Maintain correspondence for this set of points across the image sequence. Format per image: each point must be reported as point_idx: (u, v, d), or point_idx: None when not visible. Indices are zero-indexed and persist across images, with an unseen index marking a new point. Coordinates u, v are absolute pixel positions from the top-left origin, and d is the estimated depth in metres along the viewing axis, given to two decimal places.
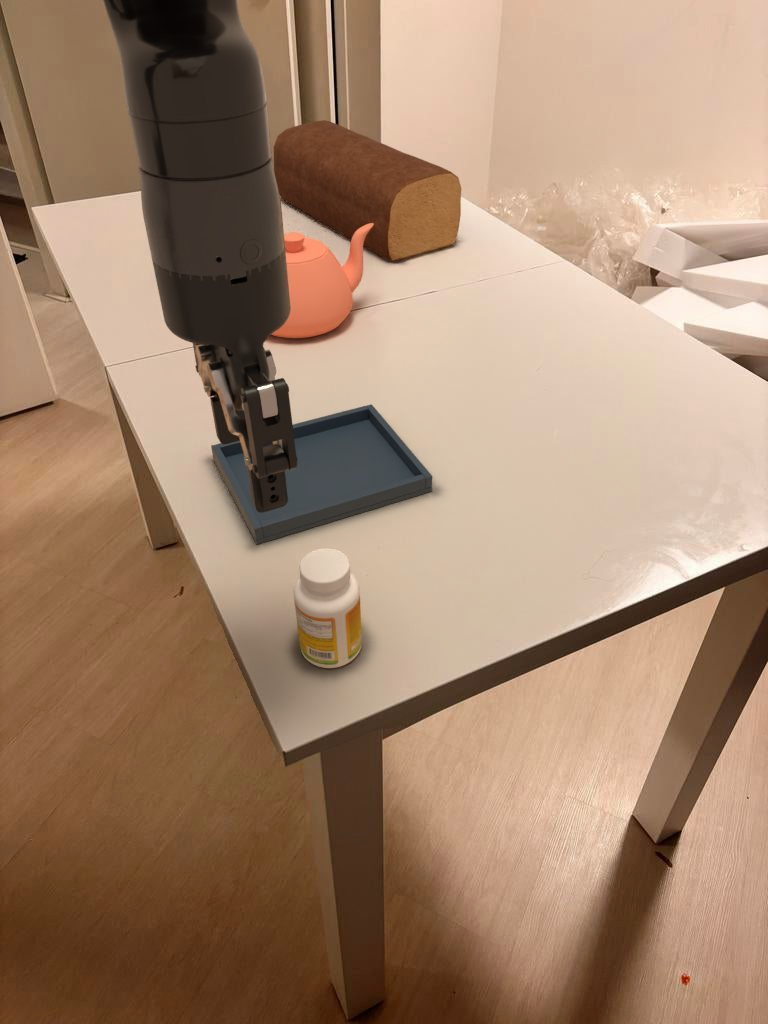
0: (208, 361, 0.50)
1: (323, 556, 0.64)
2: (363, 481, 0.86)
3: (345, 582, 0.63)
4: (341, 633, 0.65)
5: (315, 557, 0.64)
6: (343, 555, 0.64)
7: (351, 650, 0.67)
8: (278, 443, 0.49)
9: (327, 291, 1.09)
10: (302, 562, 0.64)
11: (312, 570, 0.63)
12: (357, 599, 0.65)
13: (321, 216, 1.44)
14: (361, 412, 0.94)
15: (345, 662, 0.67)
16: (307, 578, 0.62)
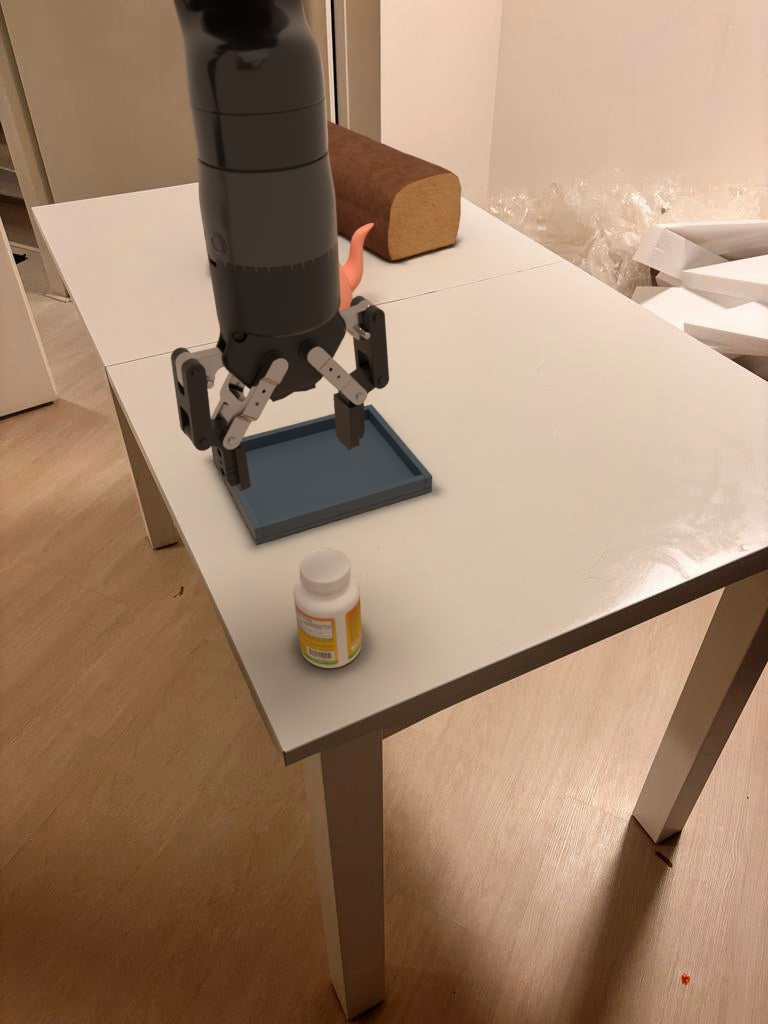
0: None
1: (323, 556, 0.64)
2: (363, 481, 0.86)
3: (345, 582, 0.63)
4: (341, 633, 0.65)
5: (315, 557, 0.64)
6: (343, 555, 0.64)
7: (351, 650, 0.67)
8: (225, 428, 0.50)
9: None
10: (302, 562, 0.64)
11: (312, 570, 0.63)
12: (357, 599, 0.65)
13: None
14: None
15: (345, 662, 0.67)
16: (307, 578, 0.62)
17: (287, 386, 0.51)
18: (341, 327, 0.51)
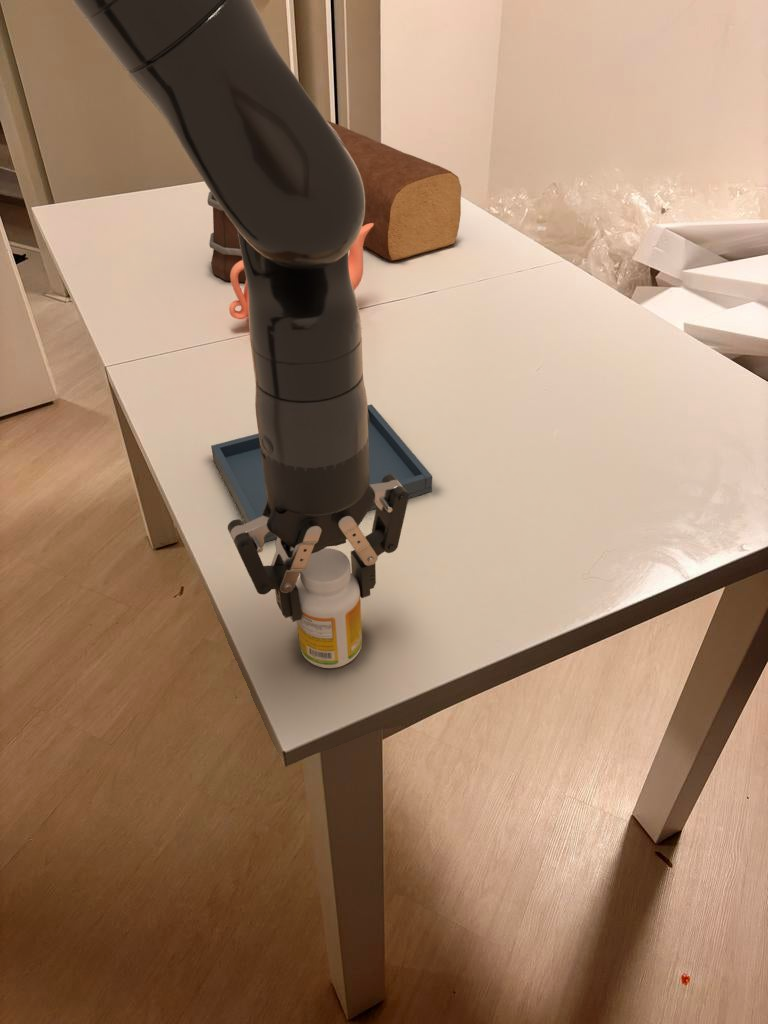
0: None
1: (323, 556, 0.64)
2: None
3: (345, 582, 0.63)
4: (341, 633, 0.65)
5: (315, 557, 0.64)
6: (343, 555, 0.64)
7: (351, 650, 0.67)
8: (280, 578, 0.61)
9: None
10: None
11: (313, 570, 0.63)
12: (357, 599, 0.65)
13: None
14: None
15: (345, 662, 0.67)
16: (307, 578, 0.62)
17: (321, 543, 0.60)
18: (371, 499, 0.60)
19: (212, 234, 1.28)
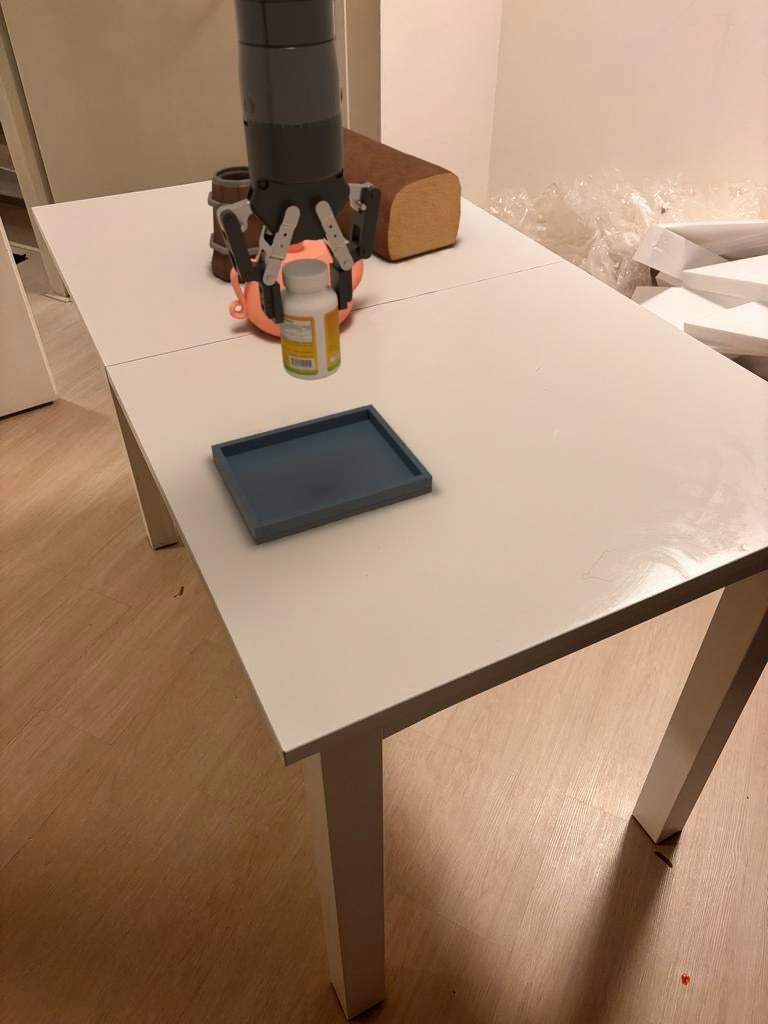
0: None
1: (303, 262, 0.69)
2: (363, 481, 0.86)
3: (323, 282, 0.68)
4: (320, 337, 0.70)
5: (296, 263, 0.69)
6: (322, 262, 0.69)
7: (330, 361, 0.72)
8: (263, 269, 0.66)
9: None
10: (284, 266, 0.69)
11: (293, 270, 0.68)
12: (335, 305, 0.70)
13: None
14: (361, 412, 0.94)
15: (325, 374, 0.73)
16: (288, 275, 0.68)
17: (300, 233, 0.66)
18: (345, 191, 0.65)
19: (212, 234, 1.28)
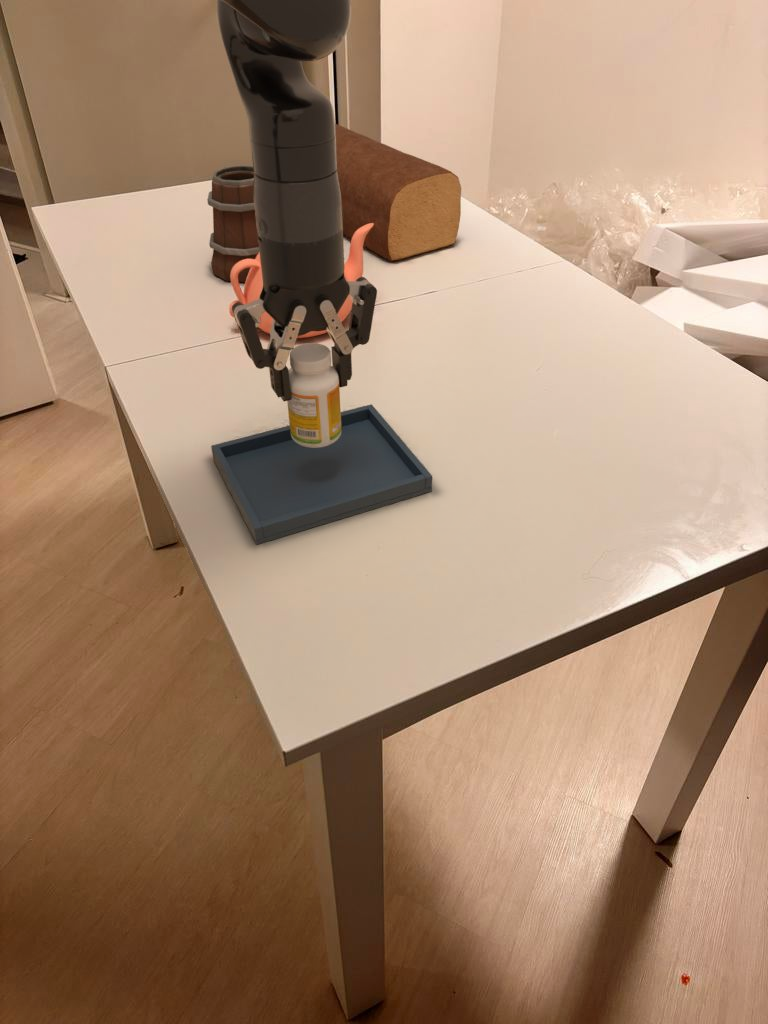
0: None
1: (309, 347, 0.79)
2: (363, 481, 0.86)
3: (326, 365, 0.78)
4: (323, 412, 0.80)
5: (302, 348, 0.79)
6: (325, 347, 0.79)
7: (332, 431, 0.82)
8: (274, 356, 0.76)
9: None
10: (292, 351, 0.79)
11: (300, 355, 0.78)
12: (336, 384, 0.80)
13: None
14: (361, 412, 0.94)
15: (327, 443, 0.82)
16: (296, 360, 0.77)
17: (306, 326, 0.75)
18: (346, 290, 0.75)
19: (212, 234, 1.28)
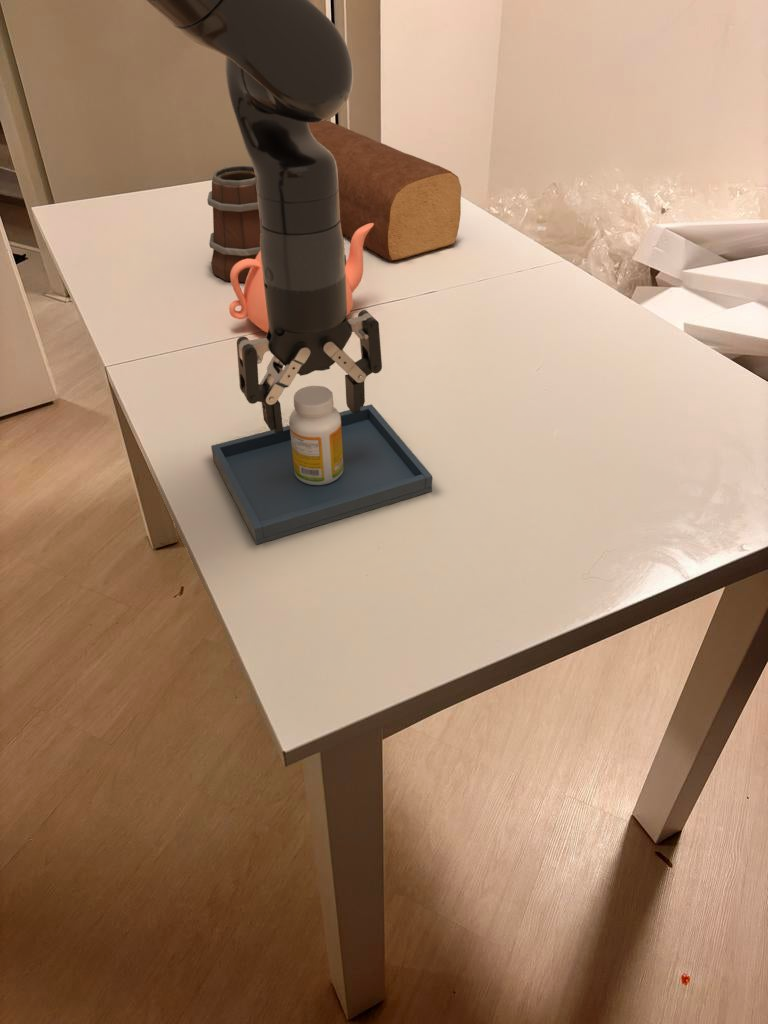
0: None
1: (312, 390, 0.82)
2: (363, 481, 0.86)
3: (329, 408, 0.81)
4: (326, 452, 0.83)
5: (306, 391, 0.82)
6: (328, 389, 0.82)
7: (334, 470, 0.85)
8: (268, 390, 0.78)
9: None
10: (296, 394, 0.82)
11: (304, 398, 0.81)
12: (339, 425, 0.83)
13: None
14: (361, 412, 0.94)
15: (330, 480, 0.86)
16: (299, 403, 0.80)
17: (310, 366, 0.78)
18: (348, 330, 0.77)
19: (212, 234, 1.28)
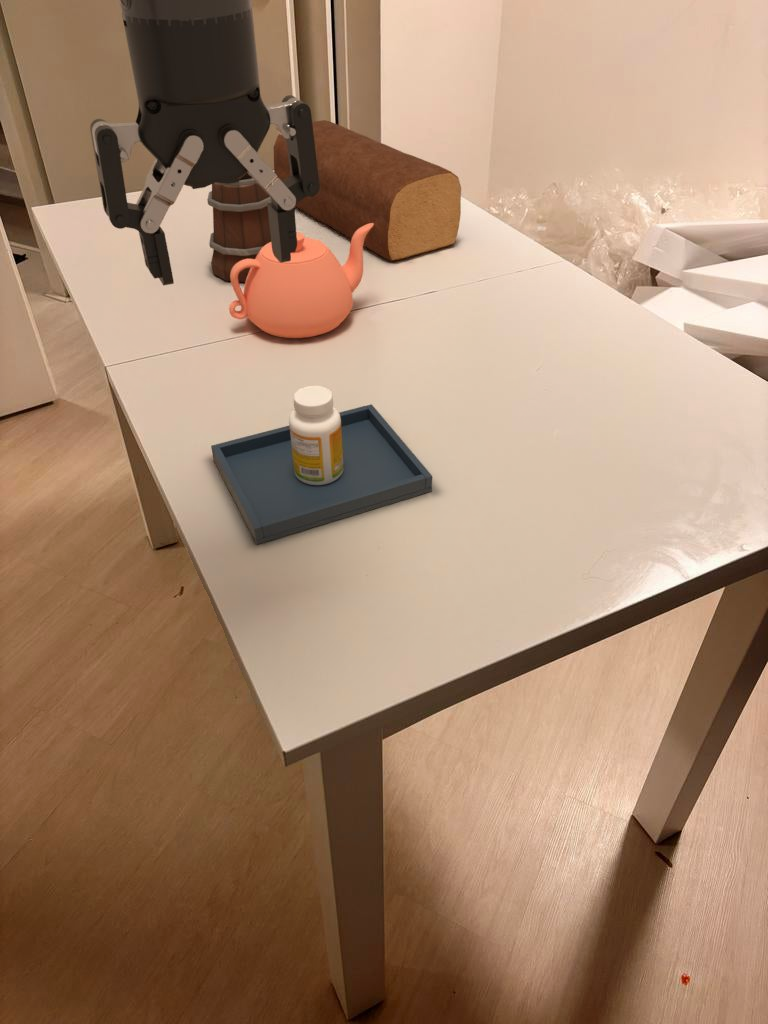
0: None
1: (312, 390, 0.82)
2: (363, 481, 0.86)
3: (329, 408, 0.81)
4: (326, 452, 0.83)
5: (306, 391, 0.82)
6: (327, 389, 0.82)
7: (334, 470, 0.85)
8: (143, 210, 0.52)
9: (327, 290, 1.09)
10: (295, 394, 0.82)
11: (303, 398, 0.81)
12: (338, 425, 0.83)
13: (321, 216, 1.43)
14: (361, 412, 0.94)
15: (330, 480, 0.86)
16: (299, 403, 0.80)
17: (207, 174, 0.52)
18: (263, 117, 0.51)
19: (212, 234, 1.28)
